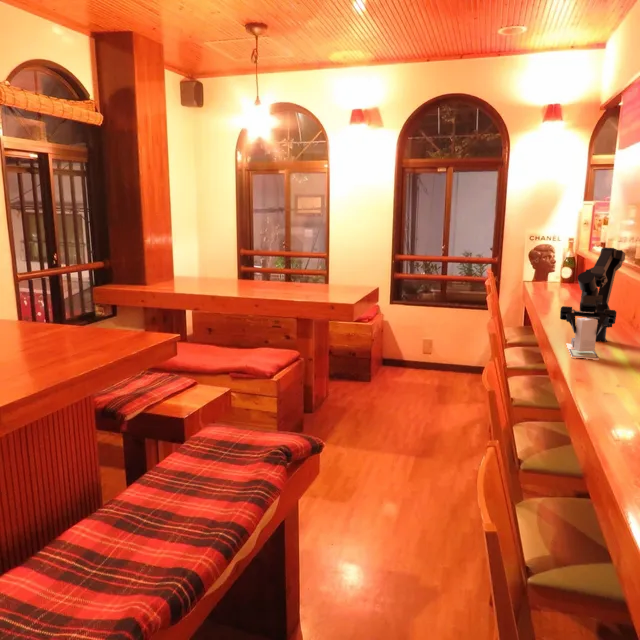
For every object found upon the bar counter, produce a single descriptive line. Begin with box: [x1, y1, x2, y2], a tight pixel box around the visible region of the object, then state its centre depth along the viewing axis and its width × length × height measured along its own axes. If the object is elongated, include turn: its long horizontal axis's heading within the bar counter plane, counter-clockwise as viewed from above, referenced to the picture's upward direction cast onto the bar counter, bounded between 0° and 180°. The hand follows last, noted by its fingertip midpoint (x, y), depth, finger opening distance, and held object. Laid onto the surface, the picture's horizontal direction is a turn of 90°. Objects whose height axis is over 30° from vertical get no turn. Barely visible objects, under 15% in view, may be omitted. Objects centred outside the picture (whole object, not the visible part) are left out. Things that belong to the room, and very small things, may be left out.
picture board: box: [565, 337, 600, 361], centre depth 207 cm, size 20×9×3 cm, turn 162°
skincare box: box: [574, 317, 598, 352], centre depth 202 cm, size 6×4×12 cm
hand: (585, 333), depth 200 cm, fingers closed on skincare box, 7 cm apart
